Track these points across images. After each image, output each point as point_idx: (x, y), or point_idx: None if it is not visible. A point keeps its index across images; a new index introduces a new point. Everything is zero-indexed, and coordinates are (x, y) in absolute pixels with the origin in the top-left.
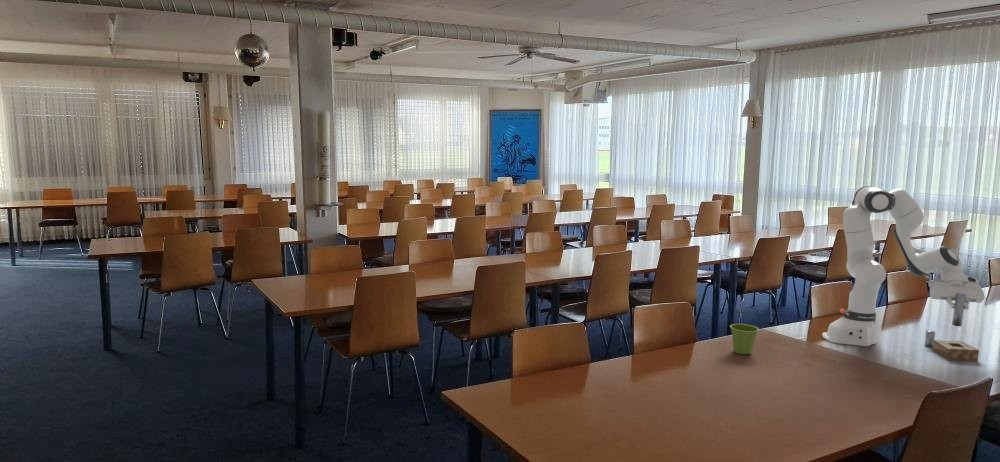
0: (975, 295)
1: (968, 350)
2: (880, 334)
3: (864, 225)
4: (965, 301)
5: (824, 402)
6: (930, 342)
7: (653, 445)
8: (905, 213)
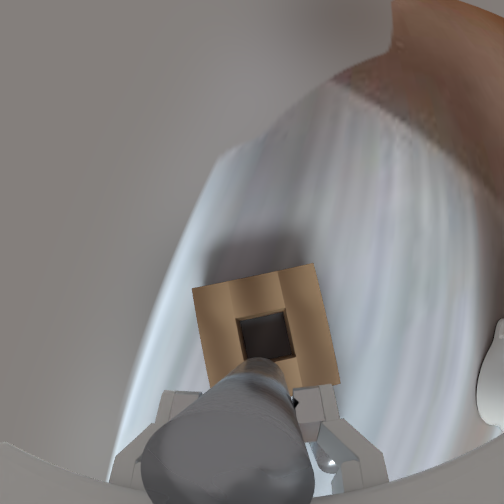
0: (34, 491)
1: (233, 280)
2: None
3: None
4: None
5: (463, 37)
6: None
7: (490, 14)
8: None
